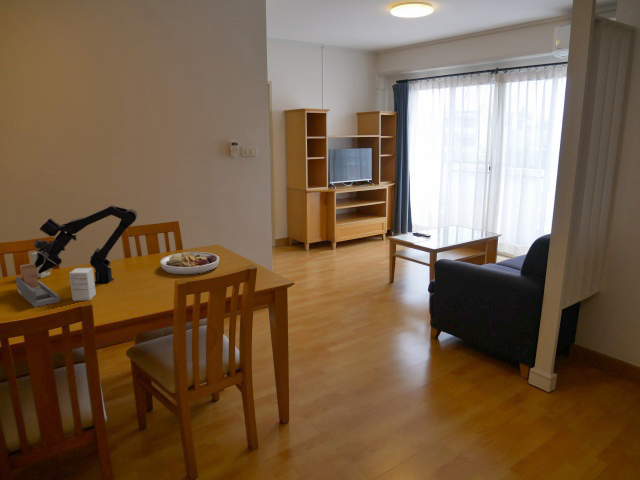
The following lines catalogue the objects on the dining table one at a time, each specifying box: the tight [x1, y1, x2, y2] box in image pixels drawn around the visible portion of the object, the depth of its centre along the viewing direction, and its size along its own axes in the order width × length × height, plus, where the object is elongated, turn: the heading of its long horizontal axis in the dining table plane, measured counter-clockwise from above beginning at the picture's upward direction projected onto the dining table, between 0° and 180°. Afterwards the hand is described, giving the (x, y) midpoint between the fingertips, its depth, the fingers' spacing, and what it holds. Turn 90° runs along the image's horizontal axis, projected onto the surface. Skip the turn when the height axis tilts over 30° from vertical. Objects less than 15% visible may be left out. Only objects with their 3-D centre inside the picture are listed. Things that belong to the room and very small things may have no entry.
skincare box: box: [31, 251, 51, 279], centre depth 227 cm, size 6×4×12 cm
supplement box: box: [68, 267, 97, 302], centre depth 199 cm, size 7×7×13 cm
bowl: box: [160, 251, 220, 276], centre depth 245 cm, size 30×30×8 cm
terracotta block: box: [19, 262, 39, 288], centre depth 206 cm, size 5×5×10 cm
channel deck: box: [15, 276, 61, 308], centre depth 200 cm, size 26×10×7 cm, turn 46°
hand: (36, 270), depth 207 cm, fingers open, 9 cm apart
